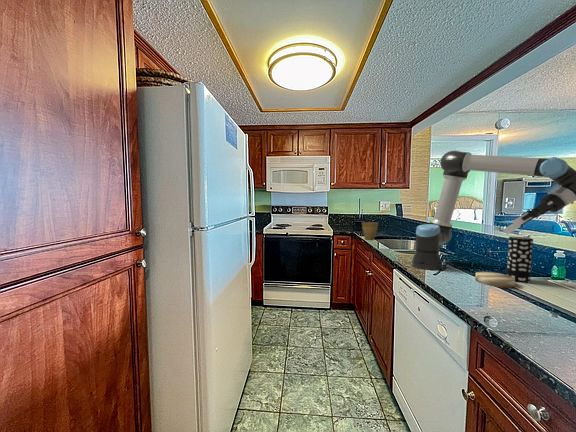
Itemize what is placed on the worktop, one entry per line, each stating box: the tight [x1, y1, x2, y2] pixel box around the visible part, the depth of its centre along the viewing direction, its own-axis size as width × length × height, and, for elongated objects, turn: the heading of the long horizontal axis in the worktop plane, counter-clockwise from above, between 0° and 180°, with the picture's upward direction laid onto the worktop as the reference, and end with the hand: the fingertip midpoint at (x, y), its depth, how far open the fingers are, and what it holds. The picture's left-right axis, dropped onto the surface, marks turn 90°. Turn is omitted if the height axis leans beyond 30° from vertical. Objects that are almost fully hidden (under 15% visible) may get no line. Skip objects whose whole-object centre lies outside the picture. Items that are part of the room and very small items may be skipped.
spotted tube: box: [506, 236, 534, 284], centre depth 120 cm, size 8×8×20 cm
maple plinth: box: [474, 271, 516, 289], centre depth 117 cm, size 14×14×3 cm
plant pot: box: [361, 221, 379, 241], centre depth 242 cm, size 15×15×16 cm
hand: (509, 228), depth 115 cm, fingers open, 13 cm apart
